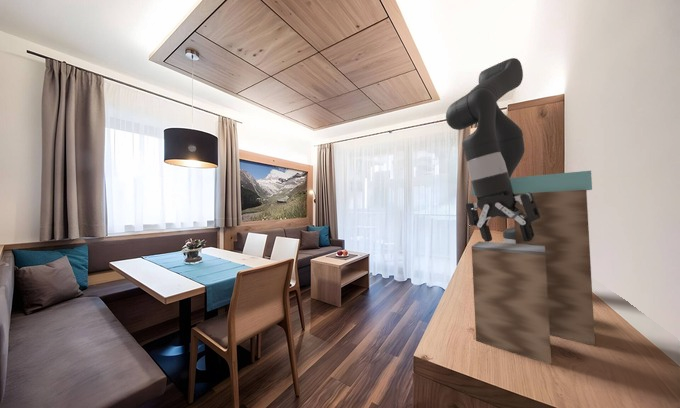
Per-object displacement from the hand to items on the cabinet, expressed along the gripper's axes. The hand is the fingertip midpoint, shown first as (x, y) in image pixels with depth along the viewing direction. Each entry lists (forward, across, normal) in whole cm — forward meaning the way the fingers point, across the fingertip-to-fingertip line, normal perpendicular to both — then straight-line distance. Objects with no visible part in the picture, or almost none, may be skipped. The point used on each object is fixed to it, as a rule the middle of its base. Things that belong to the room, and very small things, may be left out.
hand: (507, 240), depth 53 cm
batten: (-10, -2, -9) cm, 13 cm away
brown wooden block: (+20, 0, +9) cm, 22 cm away
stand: (+22, -2, -4) cm, 23 cm away
